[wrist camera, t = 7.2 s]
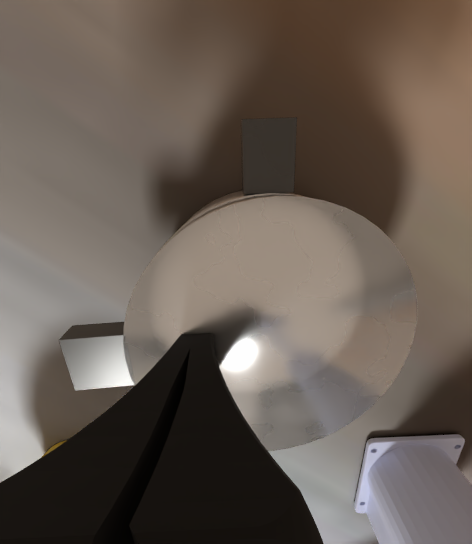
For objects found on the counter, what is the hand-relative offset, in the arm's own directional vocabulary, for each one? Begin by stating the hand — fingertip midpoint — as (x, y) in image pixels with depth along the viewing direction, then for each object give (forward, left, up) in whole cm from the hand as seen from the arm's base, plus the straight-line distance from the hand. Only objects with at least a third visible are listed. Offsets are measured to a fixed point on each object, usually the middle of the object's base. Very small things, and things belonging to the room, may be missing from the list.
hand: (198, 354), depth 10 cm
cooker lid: (0, -2, -1) cm, 2 cm away
